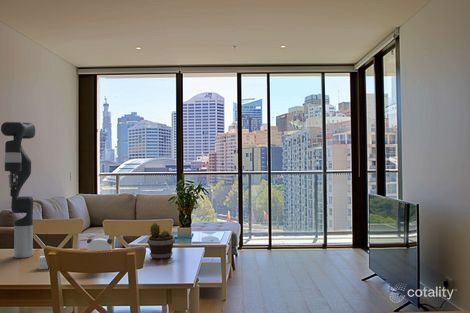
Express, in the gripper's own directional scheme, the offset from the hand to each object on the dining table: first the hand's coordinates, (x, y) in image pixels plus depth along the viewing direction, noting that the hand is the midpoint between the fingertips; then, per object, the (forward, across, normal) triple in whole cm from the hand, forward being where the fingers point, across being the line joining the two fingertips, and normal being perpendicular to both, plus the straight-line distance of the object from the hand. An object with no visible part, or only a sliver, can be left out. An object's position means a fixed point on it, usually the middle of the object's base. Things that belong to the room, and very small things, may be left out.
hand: (12, 196), depth 216 cm
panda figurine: (+35, -31, -34) cm, 58 cm away
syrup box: (+32, -11, -10) cm, 35 cm away
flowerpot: (+35, -24, -69) cm, 81 cm away
